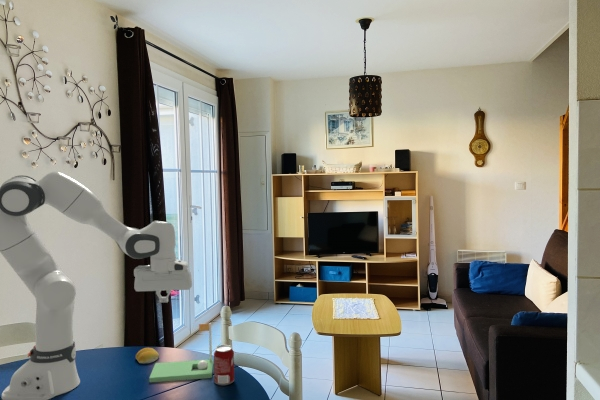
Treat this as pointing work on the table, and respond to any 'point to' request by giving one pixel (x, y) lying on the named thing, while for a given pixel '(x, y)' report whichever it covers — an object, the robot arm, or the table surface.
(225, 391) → the table surface
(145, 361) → the bread roll
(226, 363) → the soda can
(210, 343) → the green
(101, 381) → the table surface
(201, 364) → the ball
